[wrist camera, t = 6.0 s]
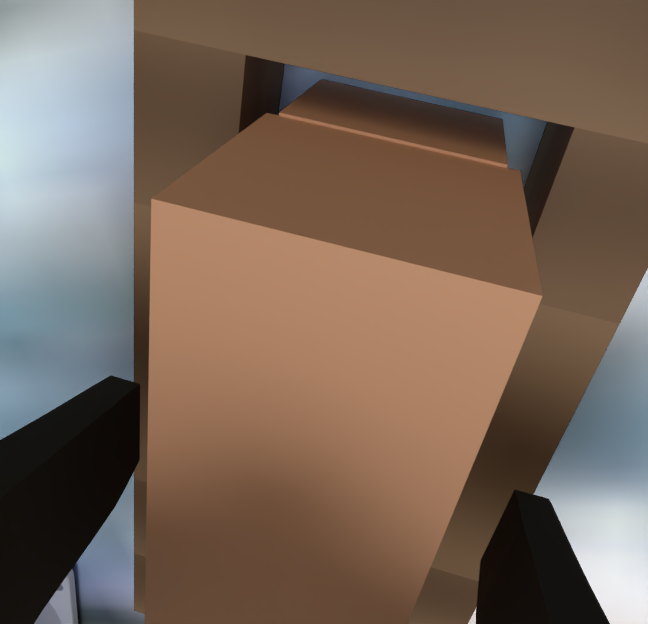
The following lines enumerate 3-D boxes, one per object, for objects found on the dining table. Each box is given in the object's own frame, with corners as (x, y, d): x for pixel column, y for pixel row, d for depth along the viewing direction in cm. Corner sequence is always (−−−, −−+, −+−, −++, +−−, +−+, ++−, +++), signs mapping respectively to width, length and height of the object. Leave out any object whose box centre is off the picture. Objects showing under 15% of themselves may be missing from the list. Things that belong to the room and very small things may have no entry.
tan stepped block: (379, 530, 18) (330, 809, 12) (250, 492, 19) (142, 743, 13) (512, 121, 12) (544, 292, 6) (311, 76, 12) (150, 194, 6)
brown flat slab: (432, 624, 20) (426, 704, 18) (169, 543, 21) (134, 610, 19) (741, -57, 10) (813, -60, 8) (203, -158, 11) (134, -185, 8)
